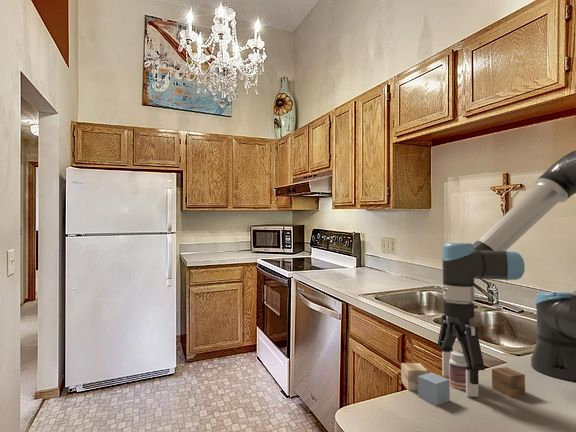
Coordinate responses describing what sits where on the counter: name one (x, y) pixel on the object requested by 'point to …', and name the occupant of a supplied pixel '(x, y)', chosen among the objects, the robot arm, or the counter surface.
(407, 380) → the maple cube
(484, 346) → the counter surface
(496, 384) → the walnut cube
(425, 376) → the slate blue cube
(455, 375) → the pill bottle
